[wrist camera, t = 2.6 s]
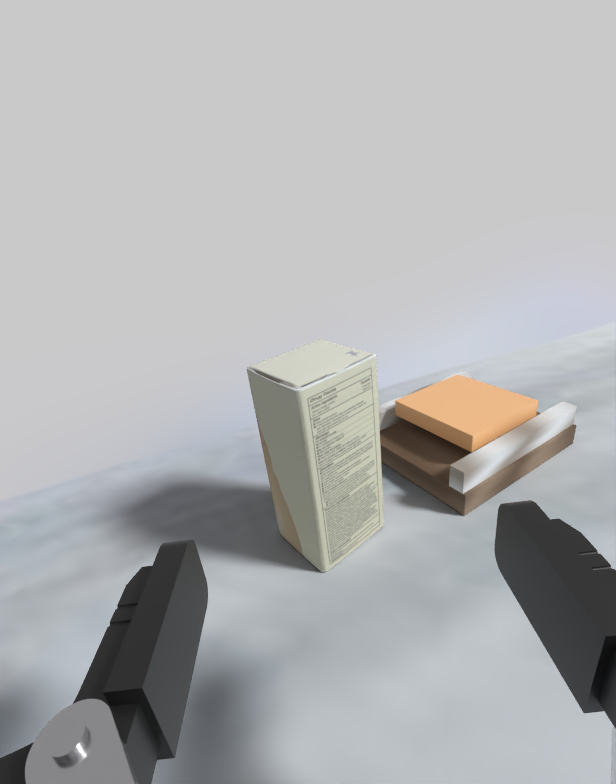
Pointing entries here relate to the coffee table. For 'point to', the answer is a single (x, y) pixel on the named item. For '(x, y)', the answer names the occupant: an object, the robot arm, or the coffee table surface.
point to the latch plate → (466, 411)
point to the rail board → (471, 454)
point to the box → (321, 447)
